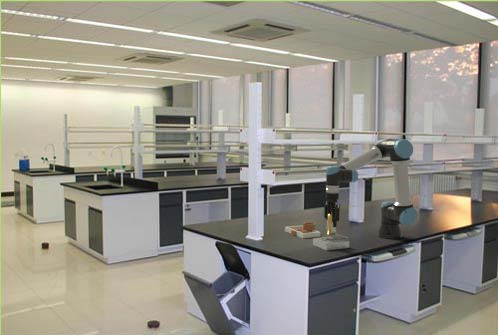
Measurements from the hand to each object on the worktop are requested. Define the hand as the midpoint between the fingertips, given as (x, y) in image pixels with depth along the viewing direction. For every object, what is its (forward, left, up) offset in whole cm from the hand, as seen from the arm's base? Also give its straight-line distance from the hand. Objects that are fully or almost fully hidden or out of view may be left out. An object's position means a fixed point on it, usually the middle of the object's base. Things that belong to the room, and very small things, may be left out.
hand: (331, 231), depth 262 cm
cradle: (-2, -36, -9) cm, 37 cm away
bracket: (-3, -36, -9) cm, 37 cm away
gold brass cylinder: (0, 0, -2) cm, 2 cm away
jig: (0, 0, -9) cm, 9 cm away
